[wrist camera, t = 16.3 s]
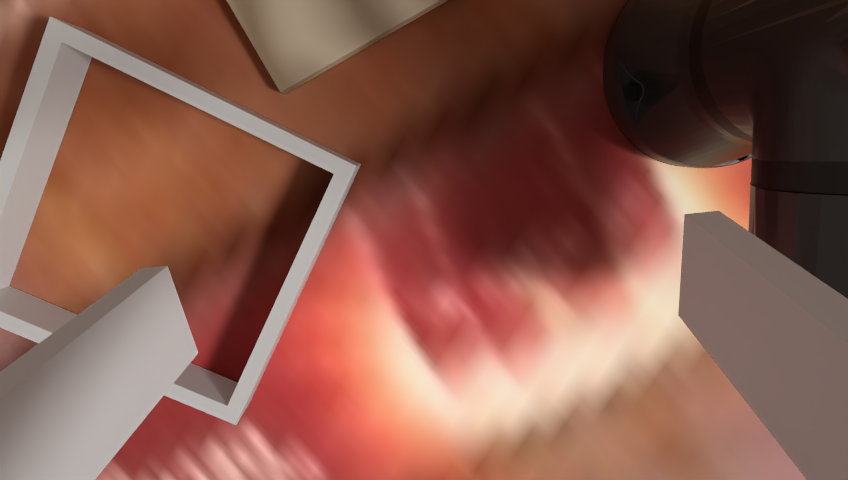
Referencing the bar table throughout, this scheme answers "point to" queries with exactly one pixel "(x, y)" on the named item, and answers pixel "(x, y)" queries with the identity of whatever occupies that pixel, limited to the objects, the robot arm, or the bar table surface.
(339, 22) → the serving board
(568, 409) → the bar table surface
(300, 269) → the grey square frame
